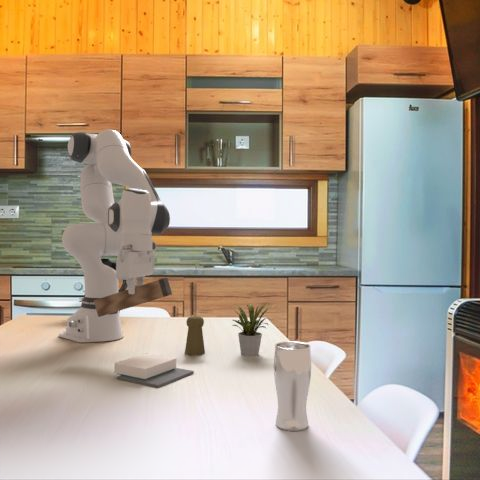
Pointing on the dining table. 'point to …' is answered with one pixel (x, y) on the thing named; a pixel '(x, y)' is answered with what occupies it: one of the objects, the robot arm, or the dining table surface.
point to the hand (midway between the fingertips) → (135, 293)
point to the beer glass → (292, 384)
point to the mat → (160, 378)
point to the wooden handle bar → (132, 297)
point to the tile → (145, 366)
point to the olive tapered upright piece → (195, 336)
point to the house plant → (250, 330)
